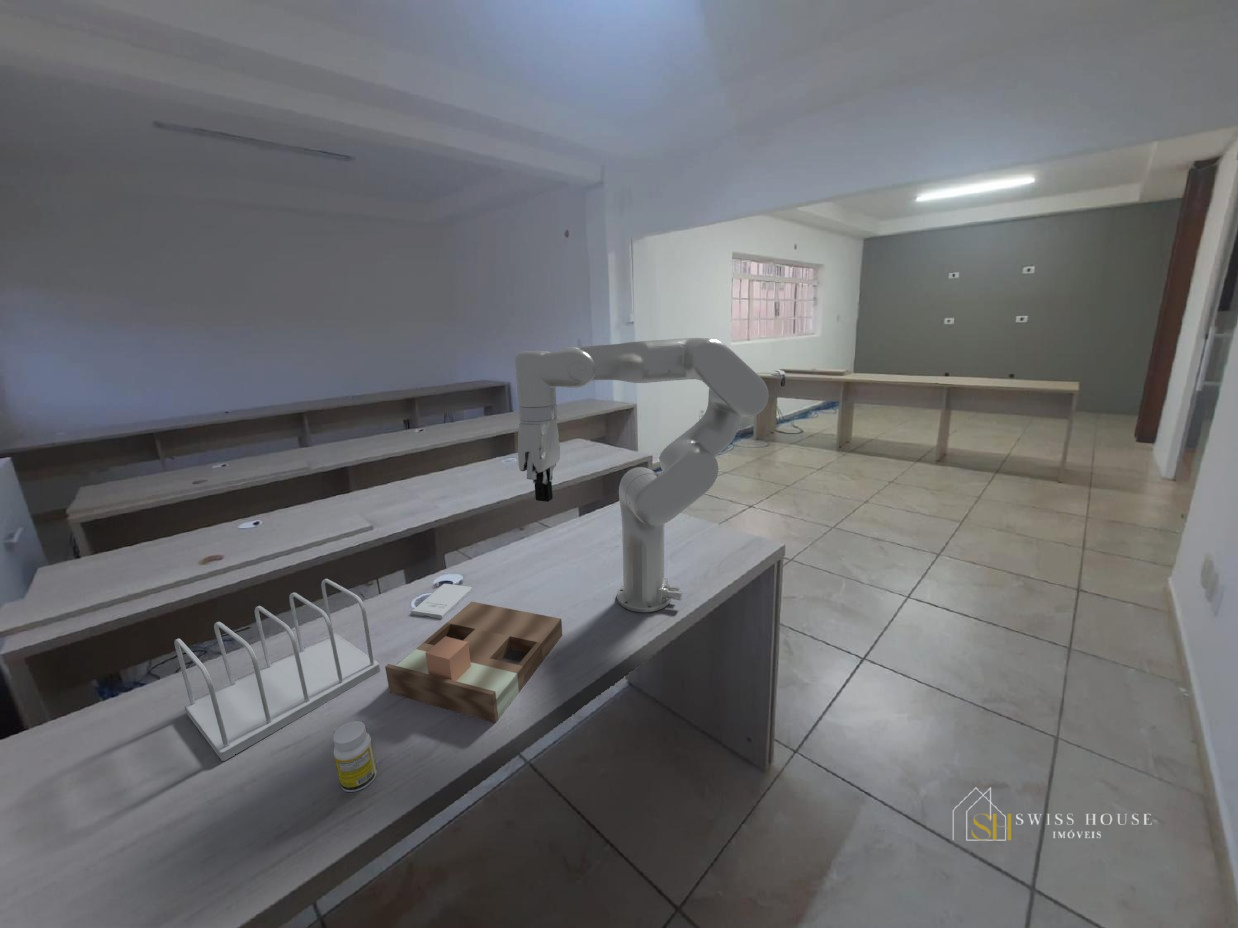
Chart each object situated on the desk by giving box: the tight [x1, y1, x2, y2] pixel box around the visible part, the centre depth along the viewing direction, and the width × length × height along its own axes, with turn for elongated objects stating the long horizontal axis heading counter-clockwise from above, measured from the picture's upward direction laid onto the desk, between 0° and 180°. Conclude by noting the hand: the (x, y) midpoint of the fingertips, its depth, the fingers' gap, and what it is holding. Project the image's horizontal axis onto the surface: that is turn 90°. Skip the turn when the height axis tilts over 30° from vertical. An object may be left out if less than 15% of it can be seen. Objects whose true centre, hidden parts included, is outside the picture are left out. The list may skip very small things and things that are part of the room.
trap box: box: [384, 601, 563, 724], centre depth 95 cm, size 22×25×6 cm
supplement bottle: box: [332, 720, 378, 793], centre depth 70 cm, size 5×5×8 cm
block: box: [426, 636, 471, 681], centre depth 87 cm, size 5×5×5 cm
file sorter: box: [174, 578, 381, 762], centre depth 87 cm, size 25×17×16 cm
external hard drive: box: [410, 583, 473, 620], centre depth 117 cm, size 2×8×12 cm
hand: (544, 499), depth 104 cm, fingers closed
